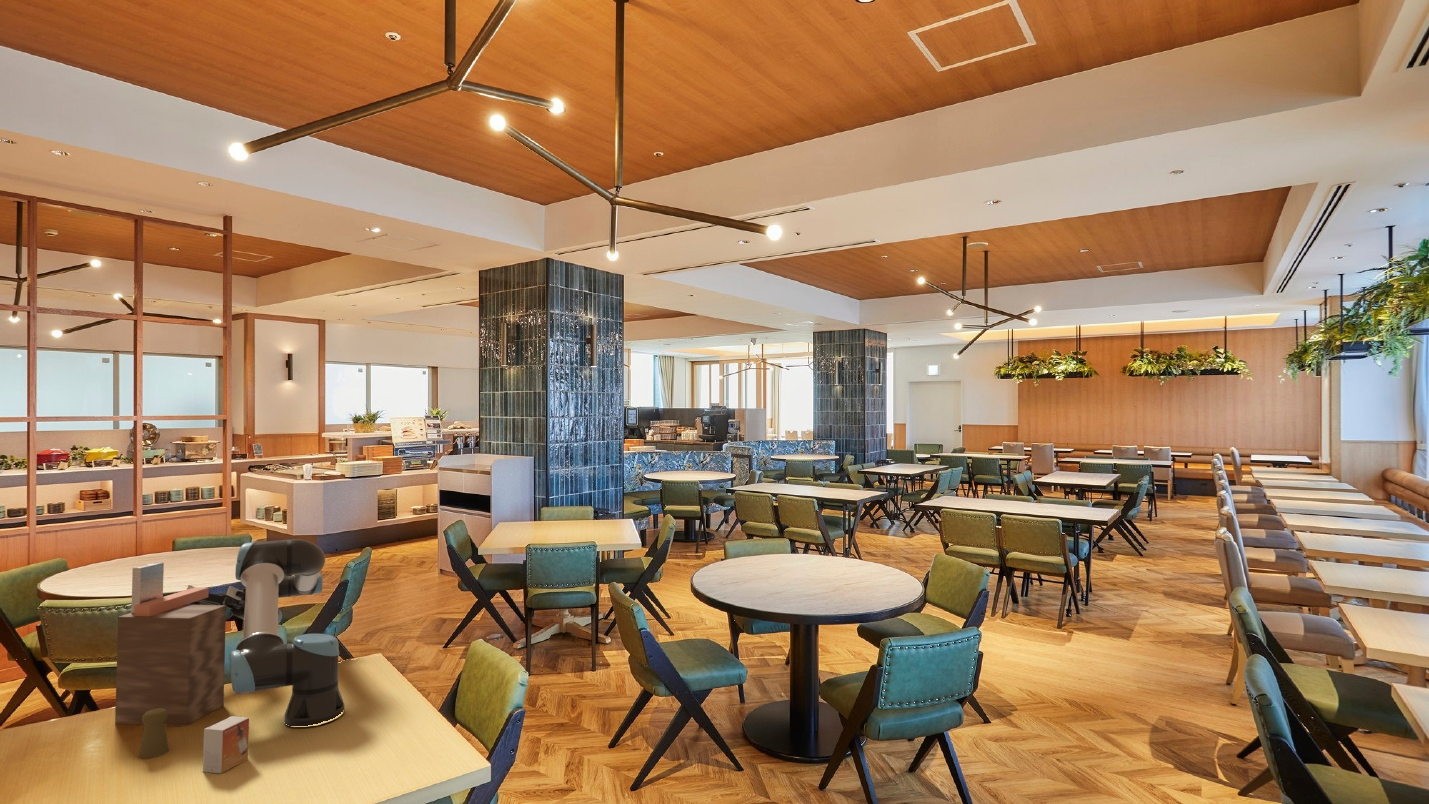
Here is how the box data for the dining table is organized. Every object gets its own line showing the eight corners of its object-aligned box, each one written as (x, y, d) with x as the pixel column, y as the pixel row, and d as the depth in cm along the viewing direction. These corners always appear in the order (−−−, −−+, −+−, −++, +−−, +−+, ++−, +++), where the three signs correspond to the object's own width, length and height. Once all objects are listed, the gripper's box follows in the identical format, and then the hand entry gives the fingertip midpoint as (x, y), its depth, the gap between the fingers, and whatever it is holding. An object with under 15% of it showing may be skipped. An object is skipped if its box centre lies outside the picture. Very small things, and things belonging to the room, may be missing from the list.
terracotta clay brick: (194, 596, 223) (194, 587, 223) (208, 597, 222) (208, 587, 222) (134, 616, 201) (134, 605, 201) (149, 616, 200) (149, 605, 201)
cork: (174, 750, 183) (175, 707, 184) (149, 760, 178) (150, 716, 178) (158, 746, 185) (159, 704, 186) (133, 756, 180) (134, 713, 180)
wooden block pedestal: (156, 703, 213) (159, 604, 214) (223, 705, 212) (226, 605, 213) (115, 723, 199) (118, 616, 200) (186, 725, 198) (189, 618, 199)
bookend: (154, 605, 212) (155, 562, 212) (162, 606, 212) (163, 562, 212) (131, 613, 204) (132, 567, 204) (139, 613, 204) (140, 568, 204)
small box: (221, 774, 171) (222, 730, 171) (201, 772, 172) (202, 728, 172) (249, 759, 179) (250, 717, 179) (230, 757, 180) (231, 715, 180)
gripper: (279, 619, 241) (241, 602, 223) (208, 618, 242) (165, 600, 224) (286, 597, 245) (250, 579, 227) (217, 596, 246) (175, 577, 228)
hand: (208, 589), depth 225 cm, fingers open, 13 cm apart
